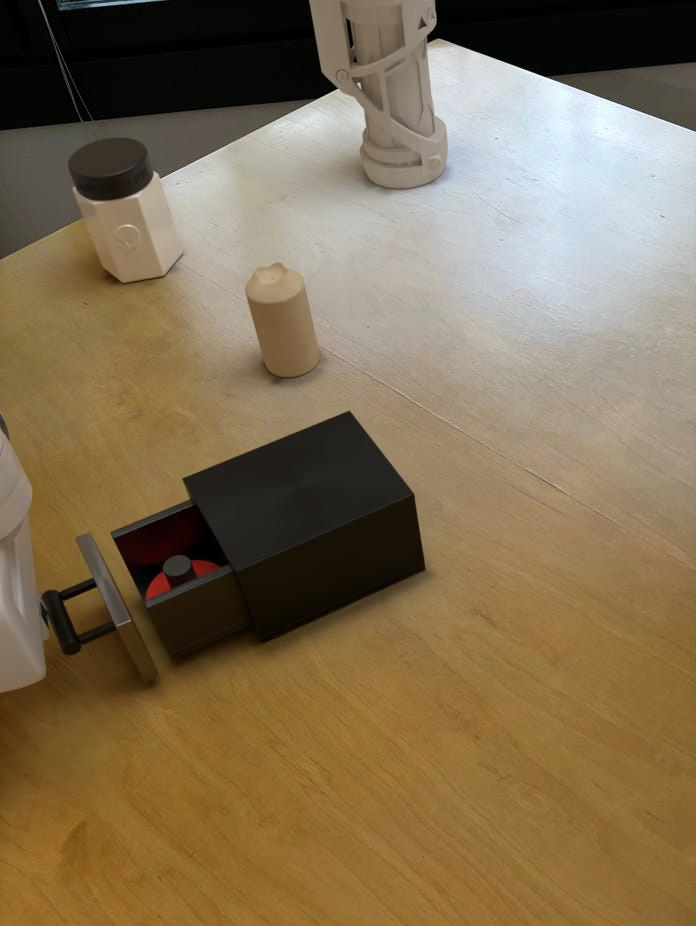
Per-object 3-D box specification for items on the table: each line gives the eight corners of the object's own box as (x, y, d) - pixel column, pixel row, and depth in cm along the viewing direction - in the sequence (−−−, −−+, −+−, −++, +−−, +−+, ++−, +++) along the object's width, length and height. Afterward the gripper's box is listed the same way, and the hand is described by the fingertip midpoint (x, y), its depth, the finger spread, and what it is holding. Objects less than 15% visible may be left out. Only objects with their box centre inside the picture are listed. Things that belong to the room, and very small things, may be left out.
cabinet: (262, 644, 84) (235, 571, 77) (210, 552, 91) (181, 478, 84) (426, 569, 88) (414, 493, 81) (365, 486, 94) (349, 409, 88)
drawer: (91, 707, 80) (58, 652, 75) (54, 616, 86) (20, 559, 81) (307, 609, 85) (289, 551, 80) (257, 529, 91) (238, 470, 85)
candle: (255, 372, 106) (230, 283, 98) (281, 339, 109) (259, 250, 101) (304, 382, 104) (283, 293, 96) (329, 348, 107) (311, 259, 99)
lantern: (447, 141, 131) (425, -95, 111) (452, 185, 125) (430, -57, 105) (341, 152, 131) (301, -82, 112) (341, 197, 125) (298, -43, 105)
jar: (102, 289, 116) (61, 183, 107) (103, 248, 121) (63, 144, 112) (184, 274, 117) (151, 168, 107) (182, 234, 122) (149, 130, 112)
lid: (155, 640, 83) (139, 608, 80) (143, 580, 87) (128, 548, 84) (238, 615, 84) (226, 583, 81) (223, 557, 88) (211, 524, 85)
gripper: (14, 592, 63) (96, 724, 73) (-6, 386, 75) (67, 525, 86) (-97, 624, 62) (3, 752, 72) (-98, 410, 74) (-13, 547, 85)
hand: (38, 628), depth 79 cm, fingers closed
